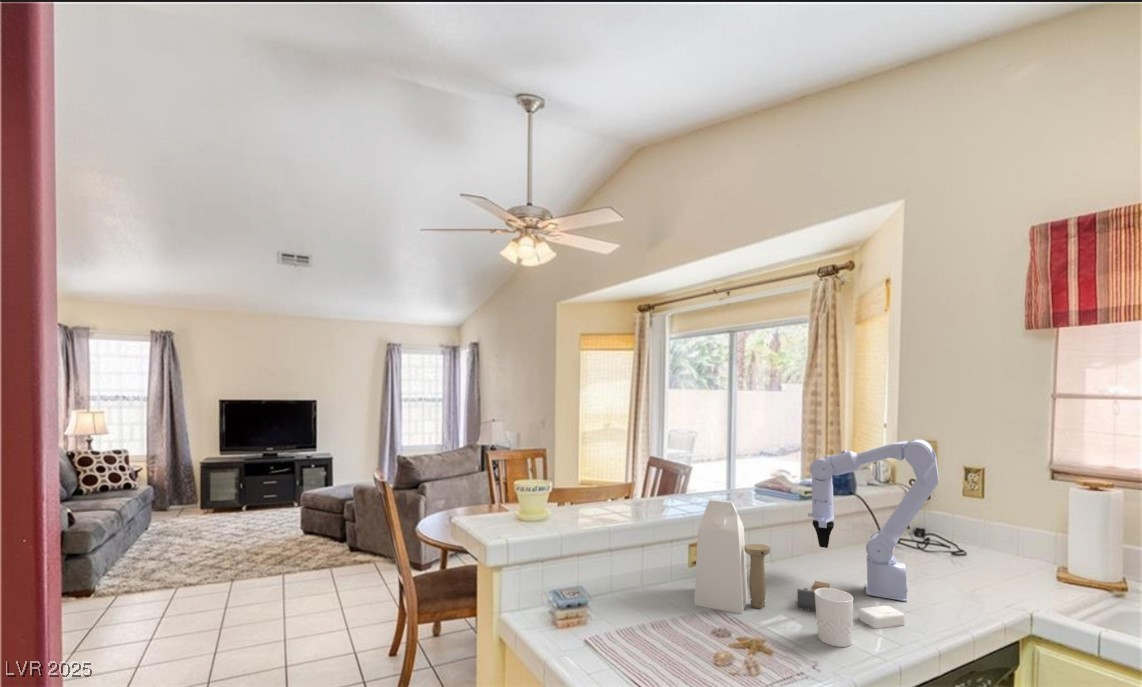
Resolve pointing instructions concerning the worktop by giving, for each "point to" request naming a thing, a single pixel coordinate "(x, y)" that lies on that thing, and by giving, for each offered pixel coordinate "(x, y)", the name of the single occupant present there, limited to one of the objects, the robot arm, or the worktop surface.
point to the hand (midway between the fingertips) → (823, 546)
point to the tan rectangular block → (819, 585)
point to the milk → (721, 559)
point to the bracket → (806, 599)
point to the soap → (881, 617)
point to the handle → (757, 573)
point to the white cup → (834, 616)
